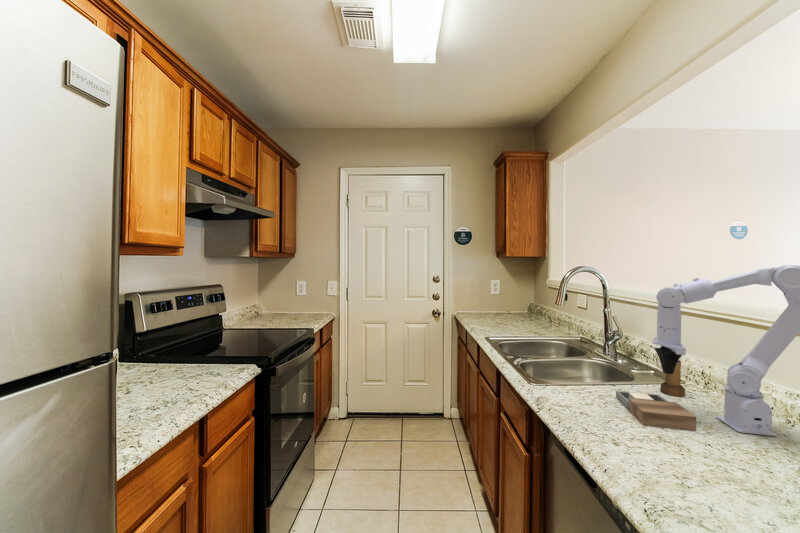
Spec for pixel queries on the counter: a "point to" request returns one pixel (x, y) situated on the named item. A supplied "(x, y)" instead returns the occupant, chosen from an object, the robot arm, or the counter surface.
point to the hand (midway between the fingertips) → (667, 373)
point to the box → (624, 396)
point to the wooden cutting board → (662, 414)
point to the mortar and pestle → (673, 383)
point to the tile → (639, 396)
